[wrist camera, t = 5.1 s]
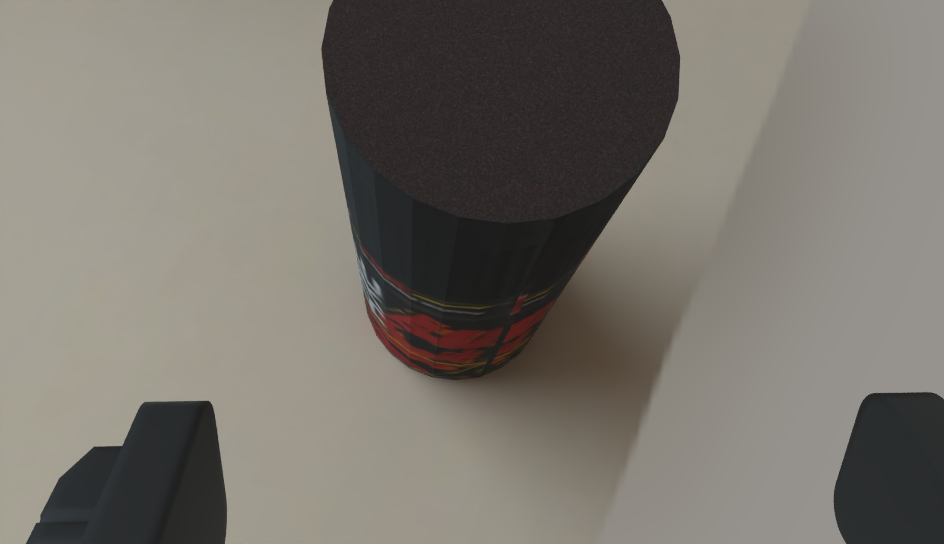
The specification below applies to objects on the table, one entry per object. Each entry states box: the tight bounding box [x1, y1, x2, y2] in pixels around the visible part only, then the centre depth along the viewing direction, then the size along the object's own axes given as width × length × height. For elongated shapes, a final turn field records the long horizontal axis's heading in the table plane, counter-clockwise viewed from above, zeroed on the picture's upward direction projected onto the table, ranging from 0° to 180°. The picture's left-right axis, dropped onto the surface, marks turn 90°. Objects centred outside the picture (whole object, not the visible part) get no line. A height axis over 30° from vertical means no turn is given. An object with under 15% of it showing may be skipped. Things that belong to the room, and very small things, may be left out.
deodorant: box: [321, 0, 680, 380], centre depth 21 cm, size 6×6×15 cm
